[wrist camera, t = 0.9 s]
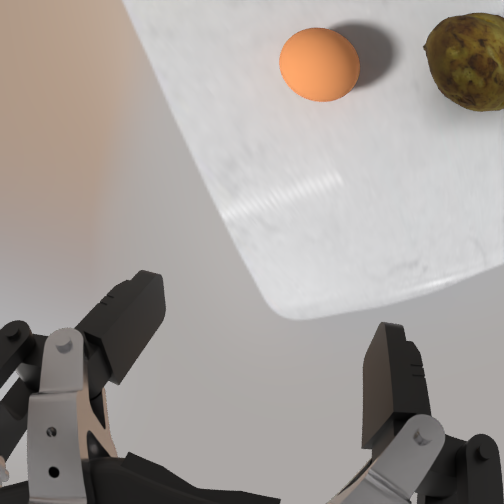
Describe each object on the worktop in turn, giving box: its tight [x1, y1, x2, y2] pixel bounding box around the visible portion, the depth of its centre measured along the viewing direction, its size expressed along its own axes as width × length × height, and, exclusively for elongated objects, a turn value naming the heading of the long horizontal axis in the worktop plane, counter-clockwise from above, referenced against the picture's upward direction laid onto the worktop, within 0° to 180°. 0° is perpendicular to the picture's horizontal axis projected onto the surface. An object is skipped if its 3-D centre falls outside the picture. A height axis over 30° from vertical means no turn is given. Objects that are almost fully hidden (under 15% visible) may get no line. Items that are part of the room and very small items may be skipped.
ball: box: [279, 28, 360, 102], centre depth 17 cm, size 6×6×6 cm
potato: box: [423, 13, 504, 112], centre depth 12 cm, size 8×13×8 cm, turn 93°
